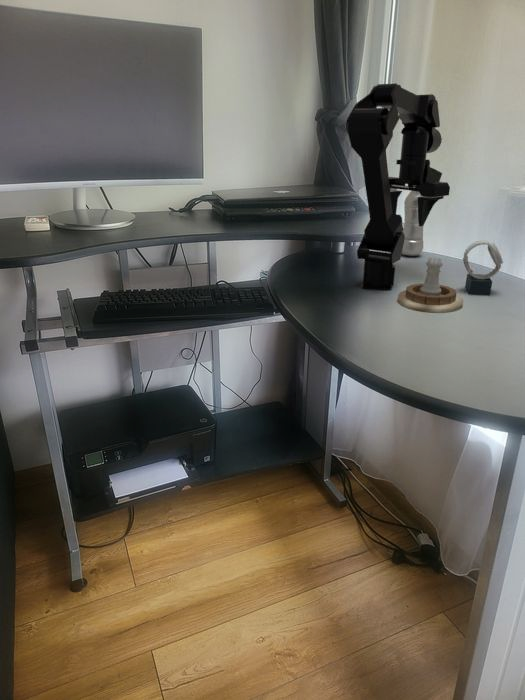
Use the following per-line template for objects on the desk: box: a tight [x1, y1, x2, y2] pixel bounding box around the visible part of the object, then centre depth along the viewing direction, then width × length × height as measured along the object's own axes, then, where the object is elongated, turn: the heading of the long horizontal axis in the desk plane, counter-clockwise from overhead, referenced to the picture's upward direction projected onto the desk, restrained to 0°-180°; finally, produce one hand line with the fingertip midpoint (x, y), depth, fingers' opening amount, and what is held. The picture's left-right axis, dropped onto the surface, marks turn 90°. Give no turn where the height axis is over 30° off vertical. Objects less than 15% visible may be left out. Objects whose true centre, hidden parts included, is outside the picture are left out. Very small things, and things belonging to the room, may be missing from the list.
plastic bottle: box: [401, 187, 425, 257], centre depth 141 cm, size 6×7×20 cm
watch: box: [462, 240, 504, 296], centre depth 112 cm, size 6×8×11 cm
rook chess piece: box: [419, 257, 443, 296], centre depth 105 cm, size 4×4×8 cm
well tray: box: [397, 282, 464, 314], centre depth 107 cm, size 13×13×3 cm
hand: (406, 223), depth 125 cm, fingers open, 9 cm apart
